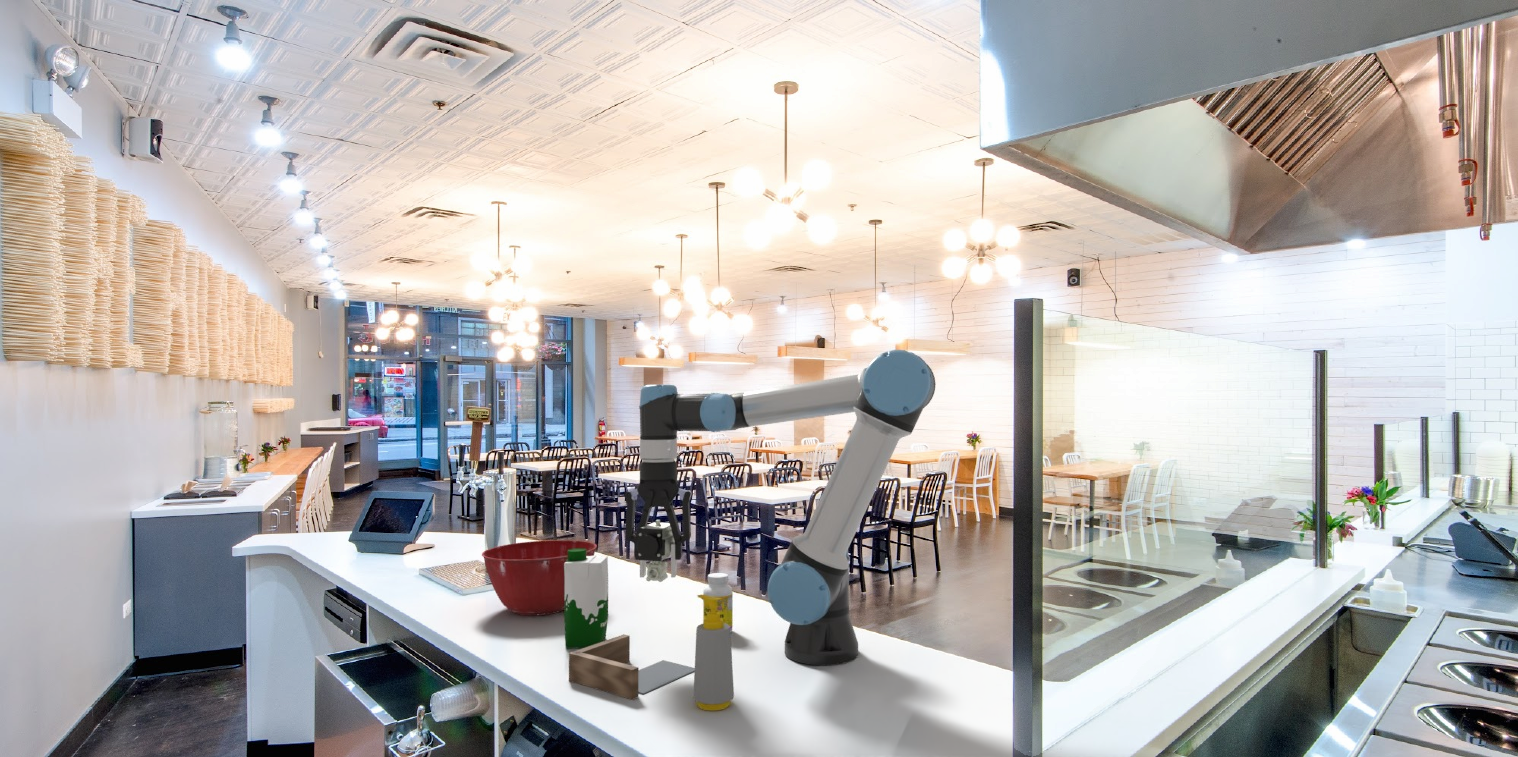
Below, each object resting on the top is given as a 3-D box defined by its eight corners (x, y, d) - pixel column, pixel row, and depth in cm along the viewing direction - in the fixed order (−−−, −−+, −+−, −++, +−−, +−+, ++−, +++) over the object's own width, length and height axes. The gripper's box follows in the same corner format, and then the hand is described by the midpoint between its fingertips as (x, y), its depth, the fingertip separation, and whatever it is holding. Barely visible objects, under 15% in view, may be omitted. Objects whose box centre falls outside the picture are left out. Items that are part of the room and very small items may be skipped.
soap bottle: (712, 693, 128) (711, 590, 129) (742, 702, 123) (741, 595, 124) (684, 705, 122) (684, 597, 123) (714, 715, 118) (714, 604, 119)
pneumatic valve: (635, 585, 141) (636, 523, 141) (656, 573, 152) (656, 515, 153) (662, 587, 140) (663, 524, 140) (681, 574, 151) (681, 516, 152)
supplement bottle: (698, 634, 162) (697, 576, 163) (711, 626, 168) (710, 570, 169) (725, 637, 160) (724, 578, 160) (737, 629, 166) (737, 572, 167)
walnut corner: (685, 675, 137) (685, 648, 137) (631, 699, 125) (631, 669, 125) (623, 659, 146) (623, 634, 146) (568, 680, 134) (568, 652, 135)
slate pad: (697, 669, 140) (697, 668, 140) (643, 694, 127) (643, 693, 127) (663, 660, 145) (663, 659, 145) (607, 683, 132) (607, 682, 132)
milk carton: (570, 636, 161) (571, 546, 162) (611, 636, 161) (611, 545, 162) (559, 649, 152) (560, 553, 154) (602, 649, 153) (603, 553, 154)
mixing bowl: (455, 619, 176) (456, 555, 177) (525, 592, 204) (526, 536, 204) (557, 628, 168) (557, 561, 169) (616, 598, 195) (616, 541, 196)
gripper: (706, 459, 151) (706, 571, 149) (617, 459, 151) (617, 571, 150) (701, 461, 143) (702, 580, 142) (608, 461, 144) (608, 579, 143)
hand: (658, 575), depth 146 cm, fingers closed on pneumatic valve, 6 cm apart
